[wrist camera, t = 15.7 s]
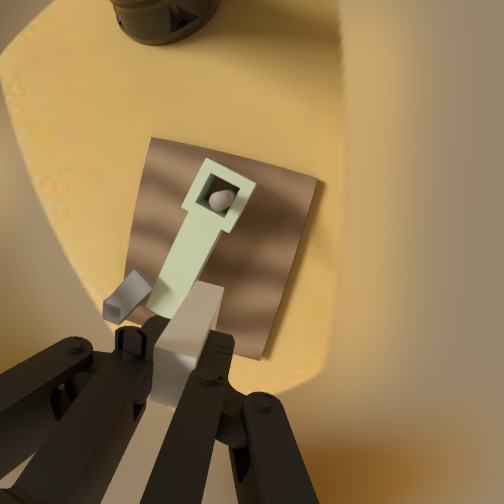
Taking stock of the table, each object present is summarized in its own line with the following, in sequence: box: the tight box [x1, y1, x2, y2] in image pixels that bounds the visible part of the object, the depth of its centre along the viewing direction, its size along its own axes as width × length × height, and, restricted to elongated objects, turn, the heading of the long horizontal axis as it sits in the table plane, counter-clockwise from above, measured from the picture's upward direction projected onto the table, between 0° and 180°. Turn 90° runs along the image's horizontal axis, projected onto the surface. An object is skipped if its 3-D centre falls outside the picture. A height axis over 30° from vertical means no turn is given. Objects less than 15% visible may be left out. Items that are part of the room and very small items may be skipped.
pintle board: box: [102, 137, 318, 361], centre depth 35 cm, size 26×22×10 cm
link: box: [146, 158, 258, 319], centre depth 36 cm, size 19×6×5 cm, turn 152°
